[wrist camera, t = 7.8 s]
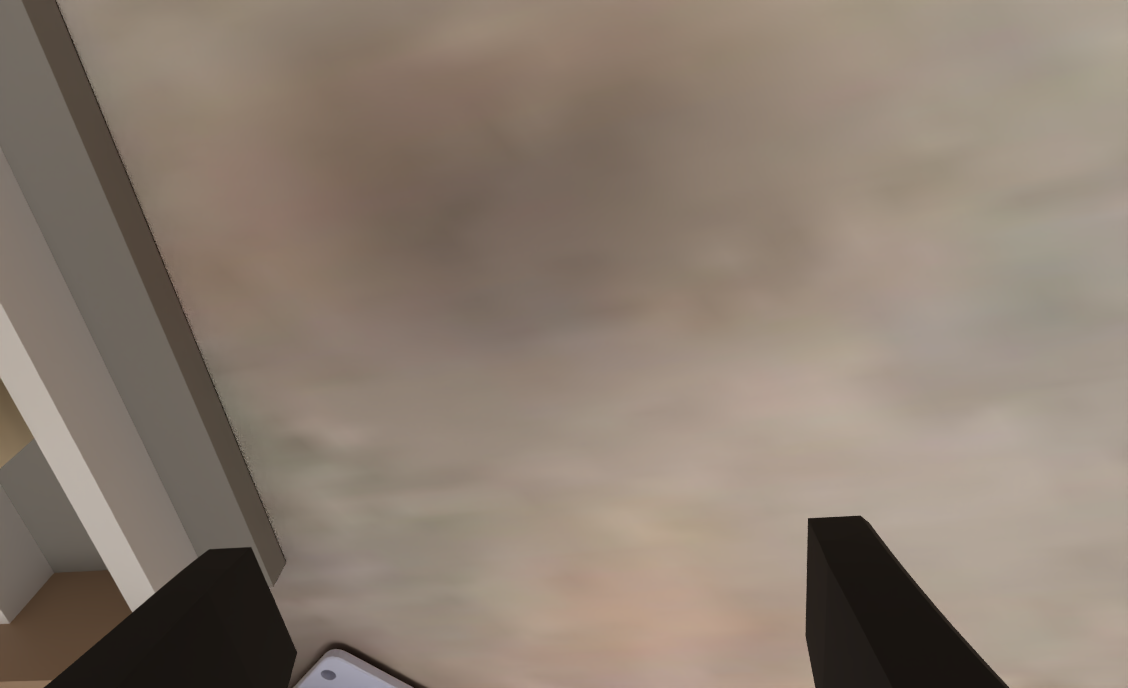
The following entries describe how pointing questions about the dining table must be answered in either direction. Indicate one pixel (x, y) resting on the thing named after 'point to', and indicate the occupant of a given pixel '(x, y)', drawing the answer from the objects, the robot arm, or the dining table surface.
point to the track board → (94, 379)
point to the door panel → (11, 427)
